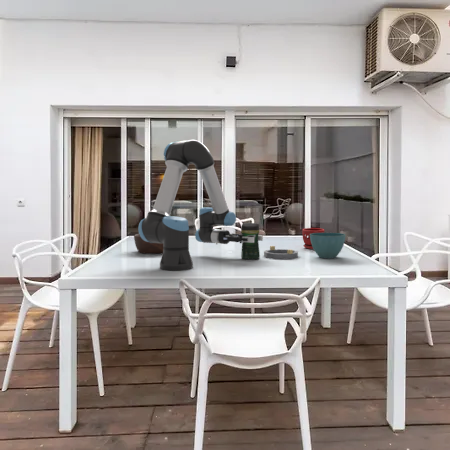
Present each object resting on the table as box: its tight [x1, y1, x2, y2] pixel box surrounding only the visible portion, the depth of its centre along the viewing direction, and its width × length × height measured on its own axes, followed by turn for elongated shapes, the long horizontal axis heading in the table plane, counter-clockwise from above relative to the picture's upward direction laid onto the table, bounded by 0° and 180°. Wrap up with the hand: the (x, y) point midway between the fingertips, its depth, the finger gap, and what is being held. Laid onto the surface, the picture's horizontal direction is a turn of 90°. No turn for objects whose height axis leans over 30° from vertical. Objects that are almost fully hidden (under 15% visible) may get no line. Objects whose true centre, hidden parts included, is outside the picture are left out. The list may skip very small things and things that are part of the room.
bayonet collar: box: [263, 245, 299, 260], centre depth 215 cm, size 18×18×4 cm
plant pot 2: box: [310, 232, 347, 259], centre depth 211 cm, size 18×18×12 cm
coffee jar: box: [240, 222, 261, 261], centre depth 207 cm, size 10×8×19 cm
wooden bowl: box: [133, 233, 163, 255], centre depth 236 cm, size 25×25×10 cm
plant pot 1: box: [301, 227, 325, 250], centre depth 244 cm, size 13×13×12 cm
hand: (258, 239), depth 205 cm, fingers closed on coffee jar, 9 cm apart
